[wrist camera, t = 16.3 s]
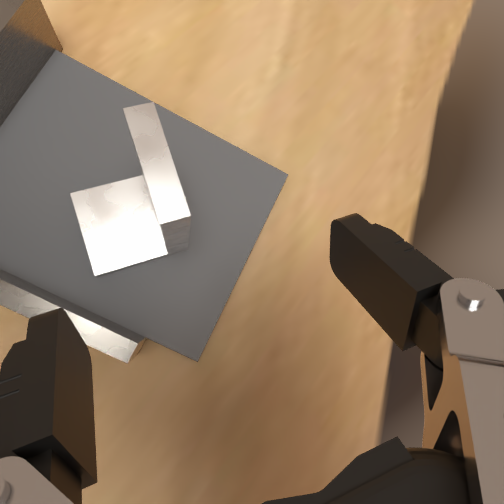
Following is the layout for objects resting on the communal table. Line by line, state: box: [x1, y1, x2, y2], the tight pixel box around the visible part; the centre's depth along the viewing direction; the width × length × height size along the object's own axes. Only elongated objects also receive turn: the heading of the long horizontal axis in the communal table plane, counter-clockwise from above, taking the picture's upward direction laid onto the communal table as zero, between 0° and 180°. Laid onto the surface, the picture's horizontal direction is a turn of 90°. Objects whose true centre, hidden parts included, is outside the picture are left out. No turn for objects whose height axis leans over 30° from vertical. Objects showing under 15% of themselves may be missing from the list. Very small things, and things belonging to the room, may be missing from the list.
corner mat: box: [0, 50, 288, 362], centre depth 27 cm, size 20×16×1 cm
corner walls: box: [0, 0, 146, 363], centre depth 25 cm, size 17×18×6 cm
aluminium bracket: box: [70, 102, 191, 277], centre depth 22 cm, size 6×6×10 cm
